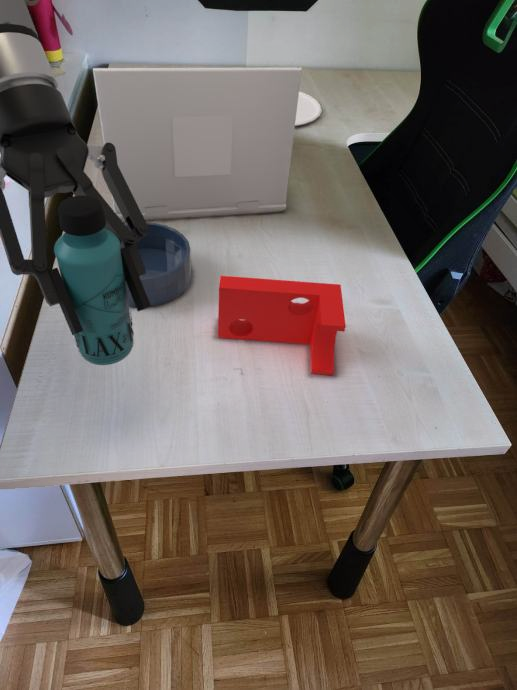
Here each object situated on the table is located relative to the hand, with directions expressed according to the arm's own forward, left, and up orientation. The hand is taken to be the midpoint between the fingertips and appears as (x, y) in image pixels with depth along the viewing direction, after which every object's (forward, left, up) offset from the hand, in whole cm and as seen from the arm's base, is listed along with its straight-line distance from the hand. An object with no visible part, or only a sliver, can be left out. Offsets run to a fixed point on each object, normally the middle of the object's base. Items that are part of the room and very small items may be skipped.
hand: (112, 320), depth 53 cm
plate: (+48, +104, -21) cm, 117 cm away
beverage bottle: (-1, +3, -9) cm, 9 cm away
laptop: (+19, +63, -21) cm, 69 cm away
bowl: (+5, +33, -21) cm, 40 cm away
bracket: (+23, +12, -21) cm, 34 cm away
